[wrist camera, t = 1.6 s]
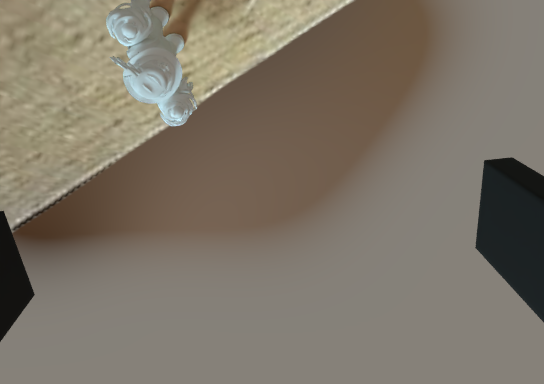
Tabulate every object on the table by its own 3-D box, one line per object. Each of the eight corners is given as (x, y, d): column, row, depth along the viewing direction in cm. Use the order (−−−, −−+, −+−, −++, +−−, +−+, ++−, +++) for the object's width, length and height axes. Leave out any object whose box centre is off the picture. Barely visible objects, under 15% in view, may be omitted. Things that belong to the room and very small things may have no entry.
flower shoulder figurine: (110, -10, 35) (81, 38, 26) (155, -31, 35) (142, 10, 25) (167, 88, 40) (160, 158, 31) (206, 71, 40) (212, 137, 31)
